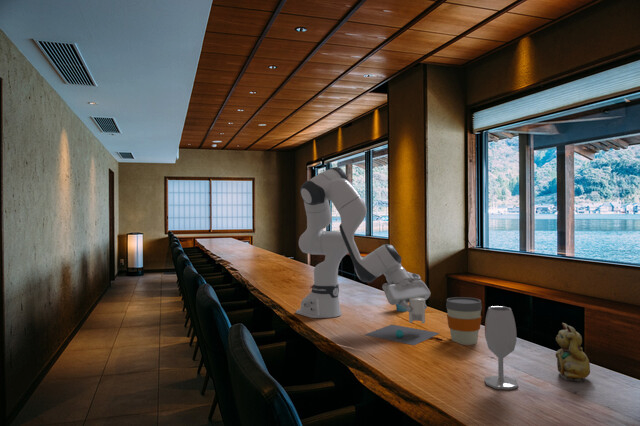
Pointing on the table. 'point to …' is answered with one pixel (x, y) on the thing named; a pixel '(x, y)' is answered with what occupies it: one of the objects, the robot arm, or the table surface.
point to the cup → (400, 308)
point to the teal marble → (399, 333)
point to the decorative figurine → (571, 355)
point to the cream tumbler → (417, 309)
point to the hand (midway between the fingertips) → (417, 309)
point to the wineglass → (500, 343)
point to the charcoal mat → (409, 336)
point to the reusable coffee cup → (464, 319)
